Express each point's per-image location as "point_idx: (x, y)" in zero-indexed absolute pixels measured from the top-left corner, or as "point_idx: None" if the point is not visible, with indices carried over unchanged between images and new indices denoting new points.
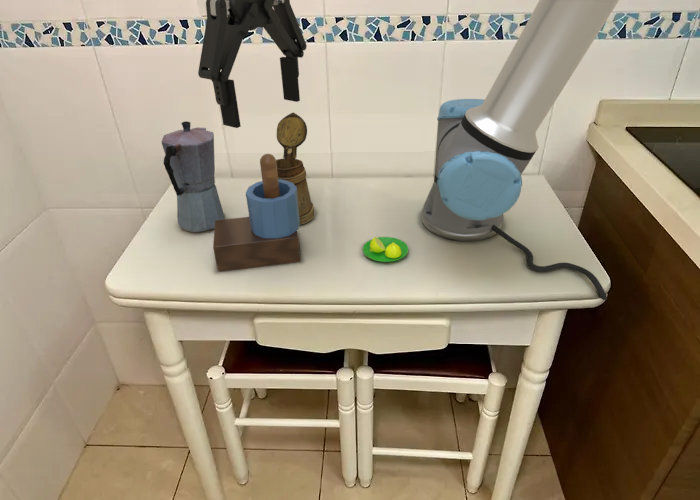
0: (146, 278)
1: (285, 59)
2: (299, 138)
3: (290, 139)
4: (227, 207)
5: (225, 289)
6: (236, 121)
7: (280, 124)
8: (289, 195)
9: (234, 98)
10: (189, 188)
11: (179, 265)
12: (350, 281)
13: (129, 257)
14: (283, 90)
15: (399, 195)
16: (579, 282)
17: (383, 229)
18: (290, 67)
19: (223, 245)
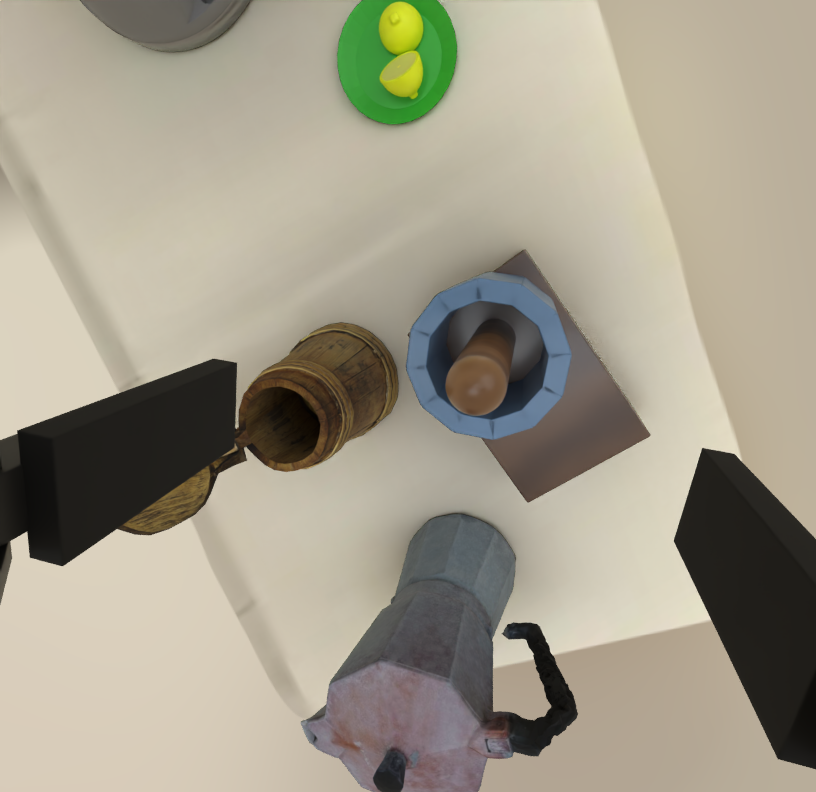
0: None
1: (64, 511)
2: None
3: None
4: (377, 543)
5: (696, 357)
6: (743, 467)
7: (149, 525)
8: (499, 285)
9: (789, 534)
10: (487, 621)
11: (642, 509)
12: (557, 79)
13: (652, 626)
14: (208, 462)
15: (131, 164)
16: None
17: (302, 121)
18: (104, 450)
19: (635, 415)
